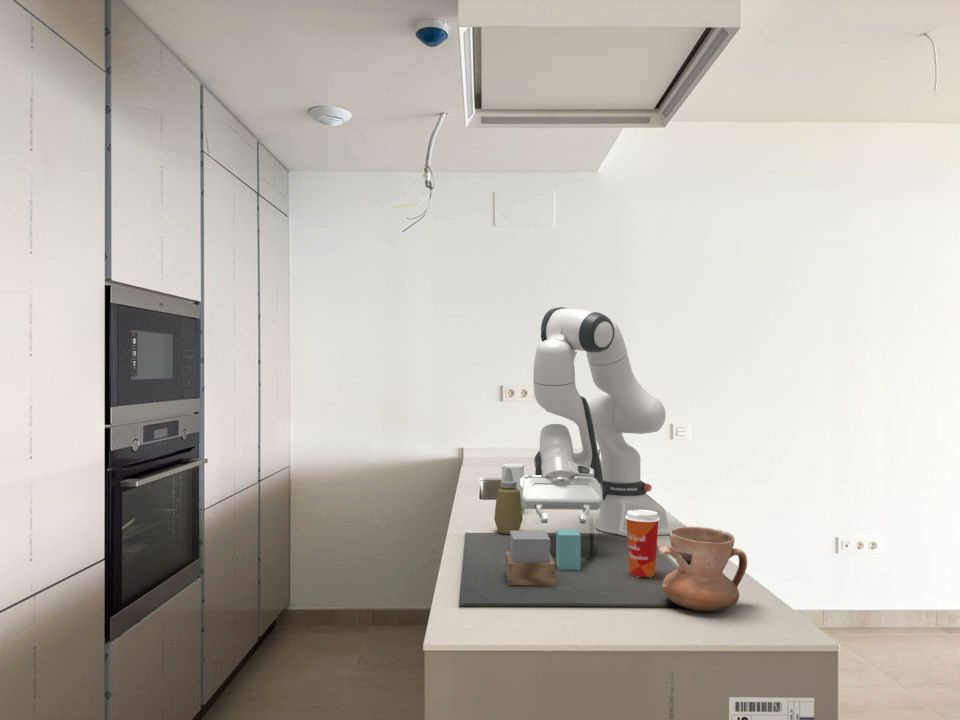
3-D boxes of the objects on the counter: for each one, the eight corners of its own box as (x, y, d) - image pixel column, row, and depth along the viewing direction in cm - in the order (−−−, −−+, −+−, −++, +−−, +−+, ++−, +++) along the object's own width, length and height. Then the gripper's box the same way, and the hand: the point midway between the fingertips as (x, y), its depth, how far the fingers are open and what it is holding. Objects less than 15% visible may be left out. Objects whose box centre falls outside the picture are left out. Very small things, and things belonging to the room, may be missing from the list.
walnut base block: (549, 573, 157) (549, 551, 157) (554, 587, 147) (555, 563, 147) (505, 573, 157) (505, 551, 157) (508, 587, 147) (508, 563, 147)
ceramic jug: (669, 618, 128) (671, 542, 128) (646, 592, 143) (648, 523, 143) (763, 619, 129) (765, 543, 129) (731, 593, 144) (733, 525, 144)
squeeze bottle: (507, 536, 190) (508, 471, 190) (488, 531, 196) (488, 468, 196) (528, 532, 195) (528, 469, 195) (508, 527, 201) (509, 465, 201)
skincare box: (521, 516, 217) (521, 466, 217) (500, 515, 218) (500, 466, 218) (524, 510, 225) (525, 463, 225) (504, 509, 226) (505, 462, 226)
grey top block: (544, 552, 156) (545, 530, 156) (550, 562, 148) (550, 539, 148) (509, 552, 156) (510, 530, 156) (513, 562, 148) (513, 539, 148)
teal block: (576, 563, 164) (577, 530, 164) (580, 569, 159) (580, 535, 159) (556, 563, 164) (556, 530, 164) (558, 569, 159) (559, 535, 159)
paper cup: (618, 571, 158) (618, 510, 158) (645, 567, 161) (645, 507, 161) (638, 581, 151) (639, 517, 151) (667, 577, 154) (667, 514, 154)
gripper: (519, 467, 175) (522, 514, 165) (599, 468, 175) (607, 515, 165) (518, 482, 179) (520, 528, 169) (596, 483, 179) (603, 529, 169)
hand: (563, 522), depth 167 cm, fingers open, 8 cm apart
